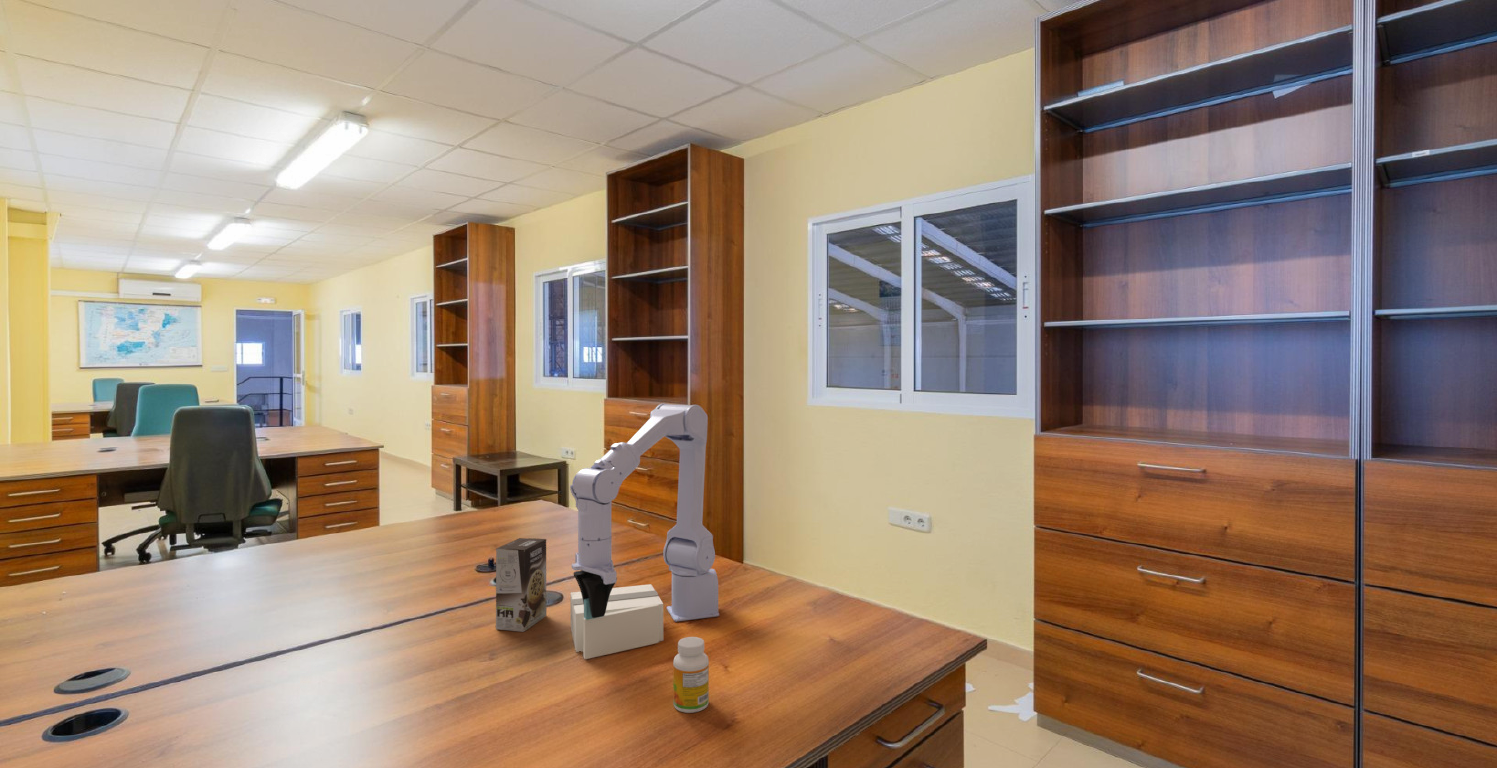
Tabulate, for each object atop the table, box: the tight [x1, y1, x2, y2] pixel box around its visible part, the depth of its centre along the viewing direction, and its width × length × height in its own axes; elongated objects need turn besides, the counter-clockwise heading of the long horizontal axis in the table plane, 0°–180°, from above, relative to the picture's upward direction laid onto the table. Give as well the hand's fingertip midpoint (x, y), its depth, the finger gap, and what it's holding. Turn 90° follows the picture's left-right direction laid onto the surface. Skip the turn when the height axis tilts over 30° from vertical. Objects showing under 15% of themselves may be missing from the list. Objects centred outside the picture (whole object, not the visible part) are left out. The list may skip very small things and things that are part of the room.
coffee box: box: [495, 537, 547, 633], centre depth 135 cm, size 9×6×16 cm
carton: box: [570, 584, 664, 653], centre depth 129 cm, size 16×12×7 cm
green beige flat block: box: [582, 598, 660, 660], centre depth 121 cm, size 14×1×10 cm, turn 121°
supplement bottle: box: [672, 636, 710, 714], centre depth 102 cm, size 5×5×10 cm
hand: (595, 613), depth 118 cm, fingers open, 2 cm apart
